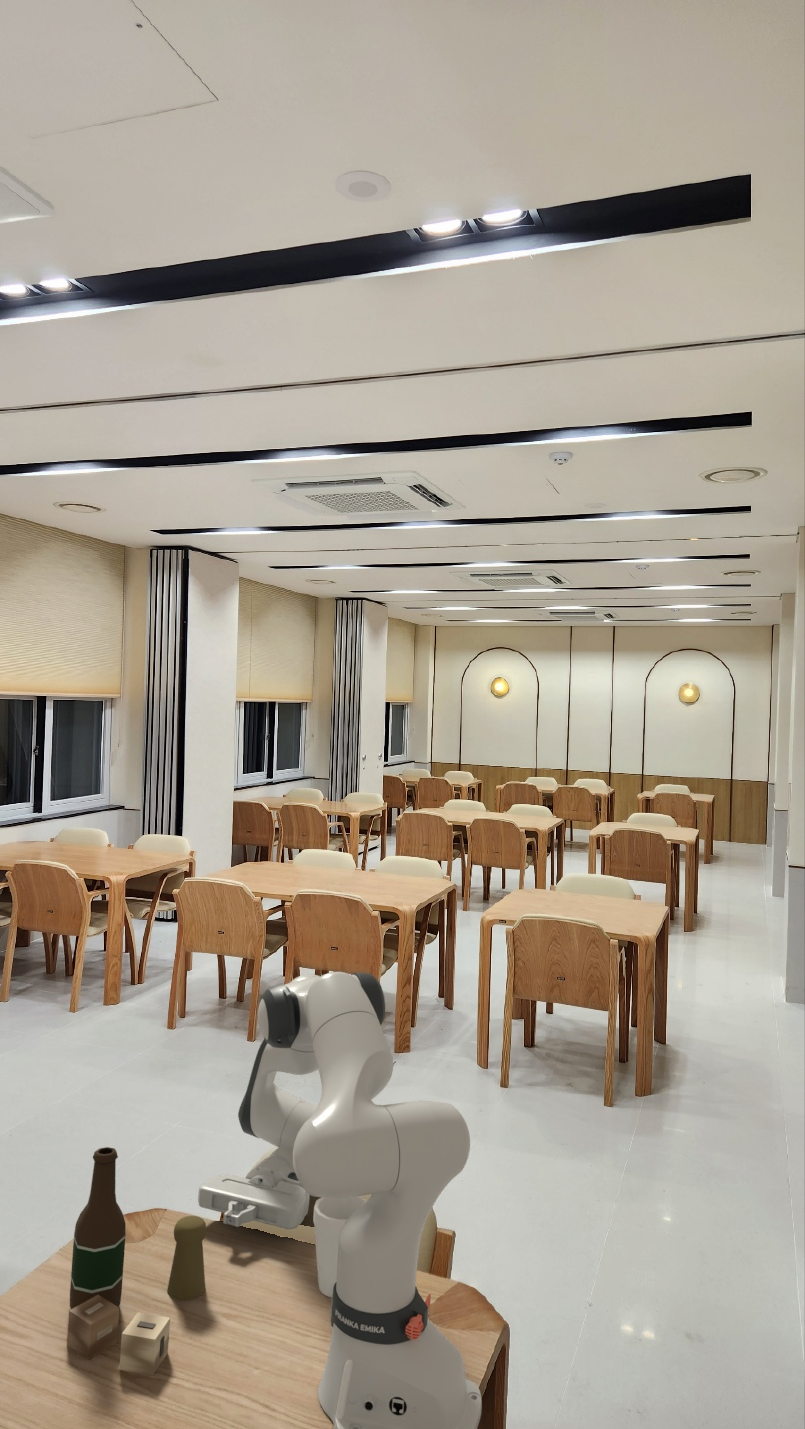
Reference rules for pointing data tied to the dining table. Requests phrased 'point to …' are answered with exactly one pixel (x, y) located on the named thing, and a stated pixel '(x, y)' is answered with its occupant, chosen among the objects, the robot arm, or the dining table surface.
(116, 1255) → the beer bottle
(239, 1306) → the dining table surface
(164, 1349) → the beech cube marked
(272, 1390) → the dining table surface
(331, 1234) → the foam cup
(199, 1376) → the dining table surface
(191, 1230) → the cork
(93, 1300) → the walnut cube marked
